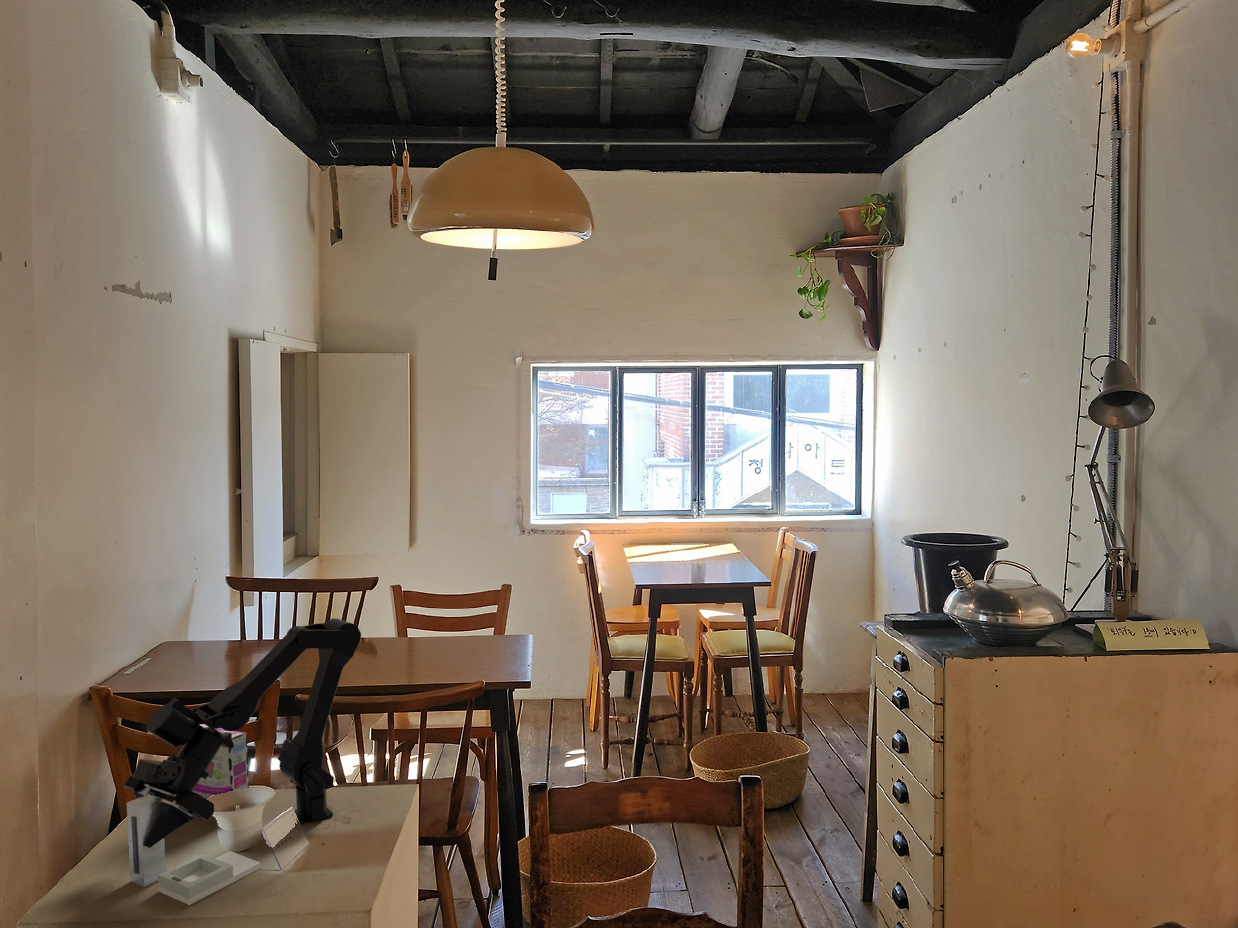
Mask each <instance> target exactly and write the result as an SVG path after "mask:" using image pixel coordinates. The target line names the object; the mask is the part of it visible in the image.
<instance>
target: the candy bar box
mask: <svg viewBox="0 0 1238 928" xmlns="http://www.w3.org/2000/svg"><path fill="white" fill-rule="evenodd" d="M203 727H204V726H203ZM204 728H205V729H206V728H208V726H205V727H204ZM215 729H216V730H218V731H219V732H221V733H225V732H227V733H231V734H232V741H233V744H234V747H233V748H232V749H231V748H226V747H222V746H221V747H220V749H219V750H218V752H217V753H216V755H215V757H214V758H213V760H212V761H211V763H210V764H209V766H208V768H207V769H206V771H205V772H207V773H208V774H209V775H208V777H207V778H206V779H203V778H201V779H200V780H199V782H198V783H197V785H196V786H195V788H194V789H193V791H192V792H195V793H198V794H199V795H201V796H202V797H204V798H205V799H208V798H209V797H210V796H212V795H217V794H221V793H226V792H229V791H234V790H237V789H244V788H249V789H250V784H249V783H250V779H249V757H248V755H249V754H248V737H247V735H248V733H247V732H244V731H243V732H242V731H238V730H237V731H225V730H224V729H222V728H215Z"/></svg>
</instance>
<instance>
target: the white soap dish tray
mask: <svg viewBox="0 0 1238 928" xmlns="http://www.w3.org/2000/svg"><path fill="white" fill-rule="evenodd" d="M261 868H262V865H261V862H260V861H258V860H254V859H252V858H249V857H246V856H243V855H241V854H239V853H237V852H233V851H230V850H229V851H228V852H225V853H223V854H222V855H221V854H220V855H219V856H217V857H213V856H210V855H206V854H204V853H200V854H198V855H196V856H194V857H191V858H190V859H188V860H185V861H183V862H181V863H179V864H177V865H176V866H173V867H170V868H169V869H166V871H164V872H162V873H160V874H158V881H157V883H158V887H157V888H158V892H159V893H160V892H161V894H164V895H165V896H168V897H170V898H171V899H173V900H174V899H175V900H176V901H179V902H181V903H184V904H186V905H188V906H191V905H193V904H194V903H197V902H199V901H200V900H202V899H204V898H206V897H208V896H210V895H211V894H215V892H217V891H220V890H222V889H223V888H225V887H228V886H229V885H231V884H233V883H235V882H236V881H238V880H240V879H242V878H245V877H247V876H249V875H250V874H252V873H254V872H256V871H258V870H261Z"/></svg>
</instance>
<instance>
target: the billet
mask: <svg viewBox="0 0 1238 928" xmlns="http://www.w3.org/2000/svg"><path fill="white" fill-rule="evenodd" d="M162 802H163V799H160V798H157V797H155V796H152V795H149V794H148V795H145V796H143V797H140V798H138V799H136V798H134V800H133V799H132V800H130V801H128V802H126V817H127V819H126V821H127V837H128V838H127V840H128V852H129V853H128V857H129V858H128V859H129V873H130V874H129V877H130V882H132V883H134V884H136V885H138V886H141V887H143V888H146V887H148V886H150V885H153V884H155V883H158V874H160V873H162V872H164V871H166V870H167V868H166V867H167V866H166V865H167V864H166V850H165V848H166V846H165V837H164V838H163V839H162V840H160V841H159V842H158V843H156V844H155V845H153V846H152V847H151V848H148V847H146V846H145V843H146V841H147V839H148V837H149V835H150V833H151V831H152V830H153V828H154V826H155V824H156V823H157V821H158V819H159V817H160V816H161V813H162Z"/></svg>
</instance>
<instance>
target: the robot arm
mask: <svg viewBox="0 0 1238 928" xmlns="http://www.w3.org/2000/svg"><path fill="white" fill-rule="evenodd" d="M361 638H362V632H361V630H360V628H359V627H358V626H357V625H356V624H354V623H351V622H348V621H346V620H343V619H341V618H335V617H334V618H330V619H328V620H327V621H325V622H322V623H321V622H320V623H312V624H308V625H296V626H292V627H290V628H289V629H288V630H287V632H286V635H284V637H282V638H281V639H280V641H279V642H278V643H277V644H276V645H275V646H274V647H272V649H271V650H270V651H269V652H268V653H267V654H266V655H265V656H264V657H263V658H262V659H260V661H259V662H258V663H257V664H256V665H255V666H254V667H253V668H252V669H251V670H249V672H248V673H247V674H246V676H244V677H243V678H242V679H241V680H239V681H237V682H235V683H234V684H232V685H229V686H226V687H225V688H224V689H223V690H222V691H220V692H219V693H218V694H216V696H214V697H213V698H211V700H210V701H209V702H207V703H204V704H202V705H199V706H197V707H194V708H192V709H190V708H189V707H187V706H186V705H185V704H184V703H183V702H181V700H178V699H177V698H176V697H173V698H171V700H169V702H168V703H165V704H164V705H162V706H161V707H159V709H156V710H155V711H154V712H153V714H152V715H151V716H150V717H149V719H148V722H147V725H146V731H147V732H148V733H150V734H152V735H153V736H155V737H157V739H160V740H162V741H163V742H164V743H166V744H168V745H170V746H171V747H174V748H176V747H179V746H182V747H181V749H180V750H179V752H178V753H177V754H176V756H175V755H173V754H170V756H168V757H167V758H166V759H163V760H162V761H159V760H153V759H152V760H151V759H145V758H139V759H138V762H137V764H136V767H135V770H134V773H133V774H131V775H129V777H128V778H127V780H126V781H125V782H124V784H123V787H125V788H126V789H129V790H131V791H132V792H133V796H134V797H135V799H138V798H140V797H143V796H145V795H148V794H149V795H152V796H155V797H157V798H160V799H162V813H161V816H160V817H159V819H158V821H157V823H156V824H155V826H154V828H153V830H152V831H151V833H150V835H149V837H148V839H147V841H146V843H145V846H146V847H148V848H151V847H152V846H153V845H155V844H156V843H158V842H159V841H160V840H162V839H163V838H164V839H165V838H166V837H167V836H169V835H170V834H171V833H172V832H174V831H176V830H177V829H180V827H182V826H184V825H185V824H187V823H188V822H193V821H194V820H195V818H194V817H193V815H194V814H195V815H196V816H197V818H199V819H200V820H204V821H206V822H209V821H210V820H211V818H212V815H213V813H214V811H215V810H214V804H213V803H212V802H210V801H209V800H207V799H205V798H204V797H202V796H201V795H199V794H198V793H195V792H192V791H193V789H194V788H195V786H196V785H197V783H198V782H199V780H200V779H201V778H203V779H206V778H207V777H208V775H209V774H208V773H207V772H205V771H206V769H207V768H208V766H209V764H210V763H211V761H212V760H213V758H214V757H215V755H216V753H217V752H218V750H219V749H220V747H221V746H222V747H226V748H231V749H232V748H233V747H234V744H233V741H232V734H231V733H227V732H225V733H221V732H219V731H218V730H216V729H215V728H217V729H224V730H225V731H237V732H238V731H239V730H241V729H242V728H244V726H246V724H247V723H248V721H249V720H250V719H251V718H252V716H253V714H254V713H255V712H256V710H257V708H258V704H259V702H260V700H261V698H262V697H263V695H264V694H265V693H266V692H267V690H269V689H270V688H271V687H272V686H273V684H274V683H275V682H277V680H278V679H279V678H280V677H281V676H282V675H283V674H284V673H285V672H286V671H287V670H288V669H289V668H290V666H292V665H293V664H294V662H296V660H298V658H299V657H300V656H301V655H302V654H303V653H304V652H305V651H306V650H308V649H317V651H318V652H317V653H318V666H317V669H316V672H315V675H314V678H313V682H312V685H311V689H310V691H309V696H308V698H307V701H306V704H305V705H306V706H305V709H304V710H303V711H304V712H303V715H302V717H301V718H302V719H301V720H300V721H301V722H300V725H299V728H298V731H297V733H296V734H295V736H294V737H293V738H292V739H291V740H289V739H284V740H283V743H282V749H281V752H280V754H279V756H278V758H277V760H278V761H279V770H280V772H281V773H282V775H283V776H284V777H286V778H288V781H289V782H290V783H291V784H294V785H295V799H296V809H294V810H295V813H296V815H297V818H298V820H299V822H300V823H299V822H298V823H299V825H307V824H308V823H313V822H316V821H320V820H324V819H328V818H330V817H333V816H334V812H333V811H332V810H331V809H329V807H327V806H328V805H327V790H329V789H332V788H333V784H334V781H335V780H334V779H335V777H334V776H333V775H332V774H330V773H329V772H327V770H326V771H325V770H324V769H323V764H324V763H323V762H324V757H325V754H324V753H325V752H324V746H323V736H324V733H325V729H326V726H327V724H328V723H327V722H328V719H329V716H330V713H331V709H332V707H333V703H334V700H335V696H336V694H337V693H336V692H337V689H338V687H339V683H340V679H341V676H342V673H343V670H344V668H345V666H346V665H347V664H348V663H349V662H350V660H351V659H352V658H353V657H354V655H355V653H356V651H357V649H358V648H359V645H360V642H361ZM201 724H203V725H205V726H206V727H208V728H206V729H205V728H204V726H202V725H201ZM165 801H166V802H165ZM167 802H168V803H167Z"/></svg>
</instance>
